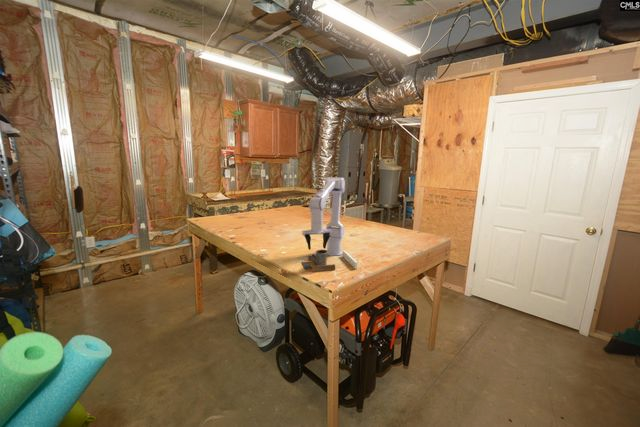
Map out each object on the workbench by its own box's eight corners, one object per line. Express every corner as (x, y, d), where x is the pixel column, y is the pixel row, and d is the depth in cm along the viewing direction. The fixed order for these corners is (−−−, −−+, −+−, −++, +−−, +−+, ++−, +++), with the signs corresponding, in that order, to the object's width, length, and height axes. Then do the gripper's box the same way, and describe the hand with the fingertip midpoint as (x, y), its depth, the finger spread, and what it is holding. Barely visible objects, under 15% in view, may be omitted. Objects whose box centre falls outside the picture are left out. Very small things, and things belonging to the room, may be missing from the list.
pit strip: (301, 262, 149) (301, 262, 148) (308, 262, 149) (308, 261, 149) (305, 269, 139) (305, 269, 139) (312, 269, 140) (312, 268, 140)
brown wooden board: (308, 259, 153) (308, 255, 152) (326, 258, 155) (326, 254, 155) (315, 271, 137) (315, 266, 136) (335, 269, 139) (335, 265, 139)
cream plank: (342, 256, 159) (342, 250, 158) (344, 256, 159) (344, 250, 159) (355, 269, 140) (355, 262, 139) (357, 269, 140) (357, 262, 140)
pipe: (317, 260, 153) (317, 245, 151) (330, 267, 142) (331, 252, 141) (307, 262, 150) (307, 247, 148) (320, 269, 139) (320, 254, 138)
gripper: (304, 224, 132) (304, 251, 135) (333, 222, 136) (333, 249, 138) (301, 221, 139) (301, 247, 141) (329, 219, 142) (329, 245, 145)
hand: (316, 248), depth 140 cm, fingers open, 7 cm apart
